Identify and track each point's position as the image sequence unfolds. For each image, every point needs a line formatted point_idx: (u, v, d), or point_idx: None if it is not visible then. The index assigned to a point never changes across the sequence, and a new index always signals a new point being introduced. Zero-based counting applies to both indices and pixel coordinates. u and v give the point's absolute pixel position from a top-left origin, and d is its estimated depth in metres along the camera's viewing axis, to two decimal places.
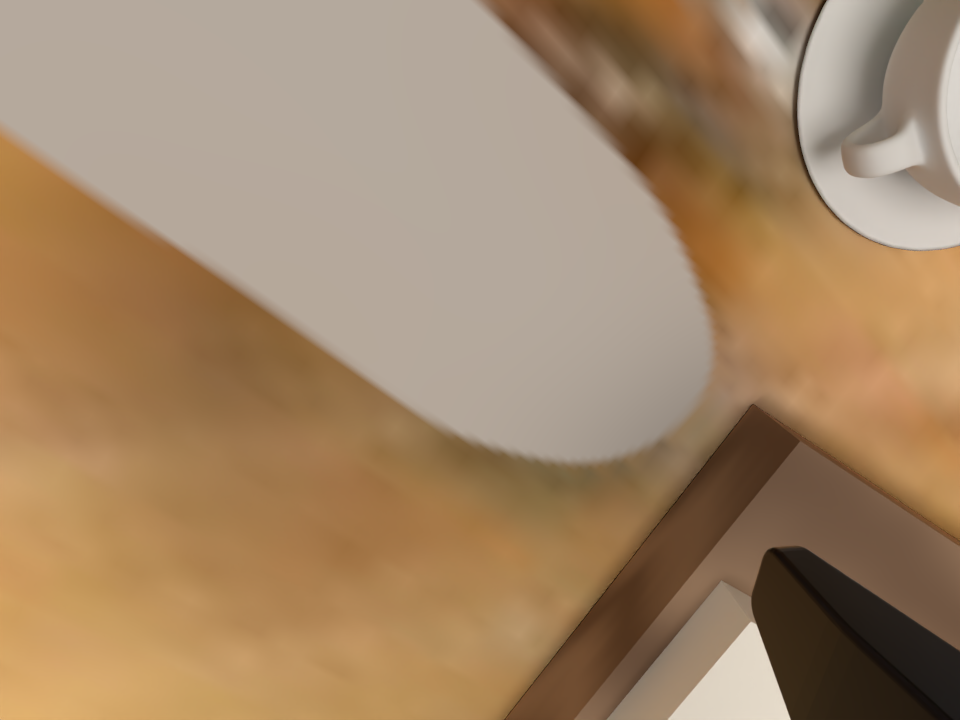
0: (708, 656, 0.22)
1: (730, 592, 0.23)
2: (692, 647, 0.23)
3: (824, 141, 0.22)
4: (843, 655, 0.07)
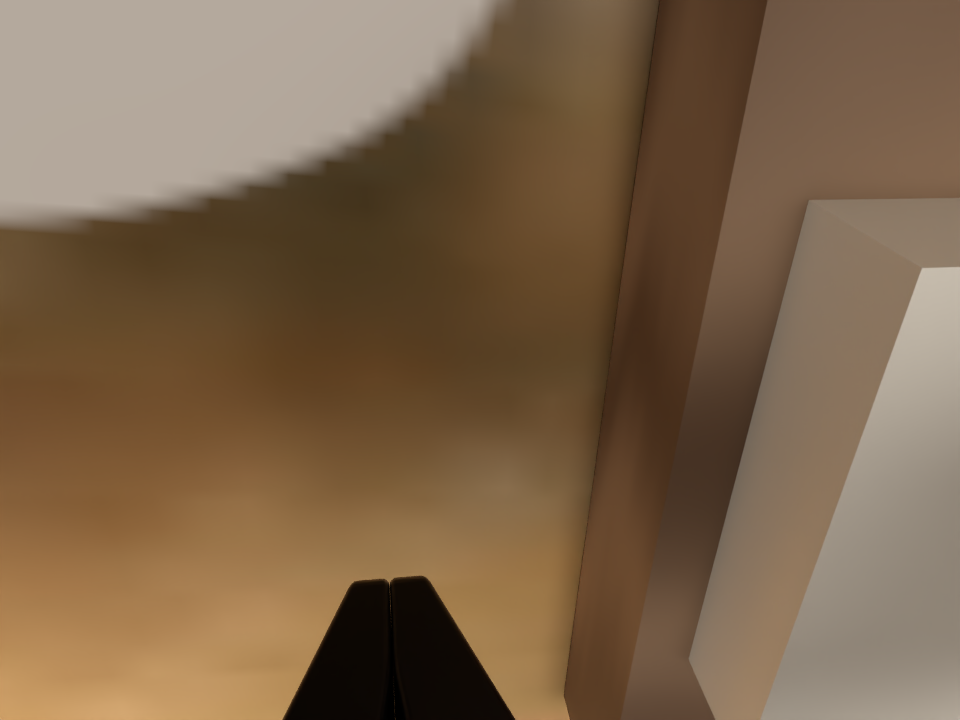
0: (845, 406, 0.08)
1: (840, 217, 0.08)
2: (803, 391, 0.09)
3: None
4: (397, 701, 0.07)
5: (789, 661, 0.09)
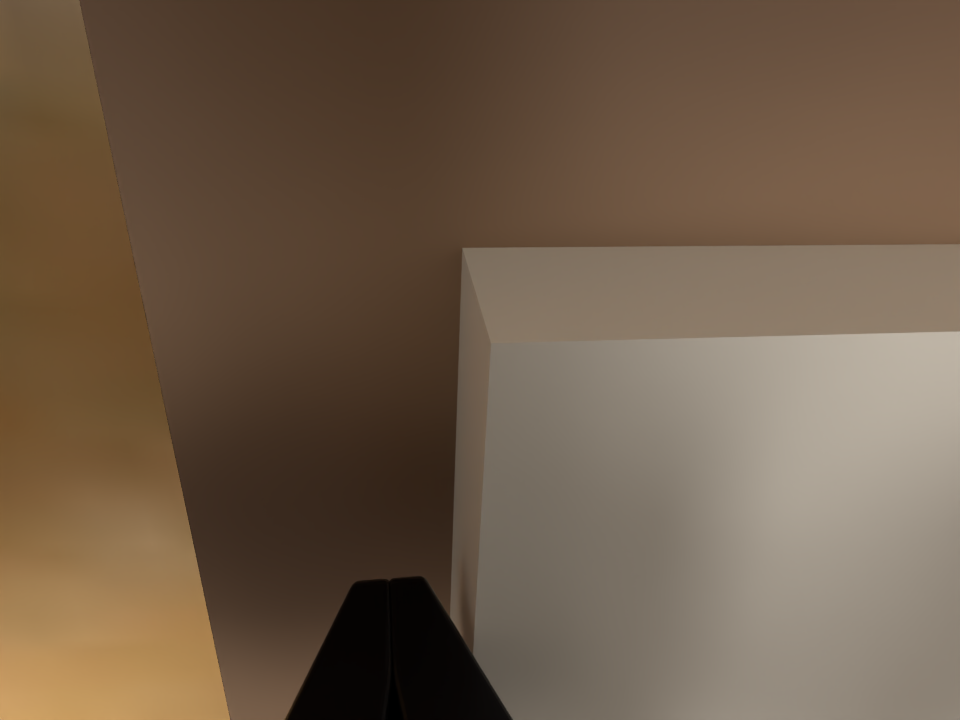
0: (475, 489, 0.07)
1: (474, 271, 0.07)
2: (465, 466, 0.08)
3: None
4: (395, 701, 0.07)
5: None
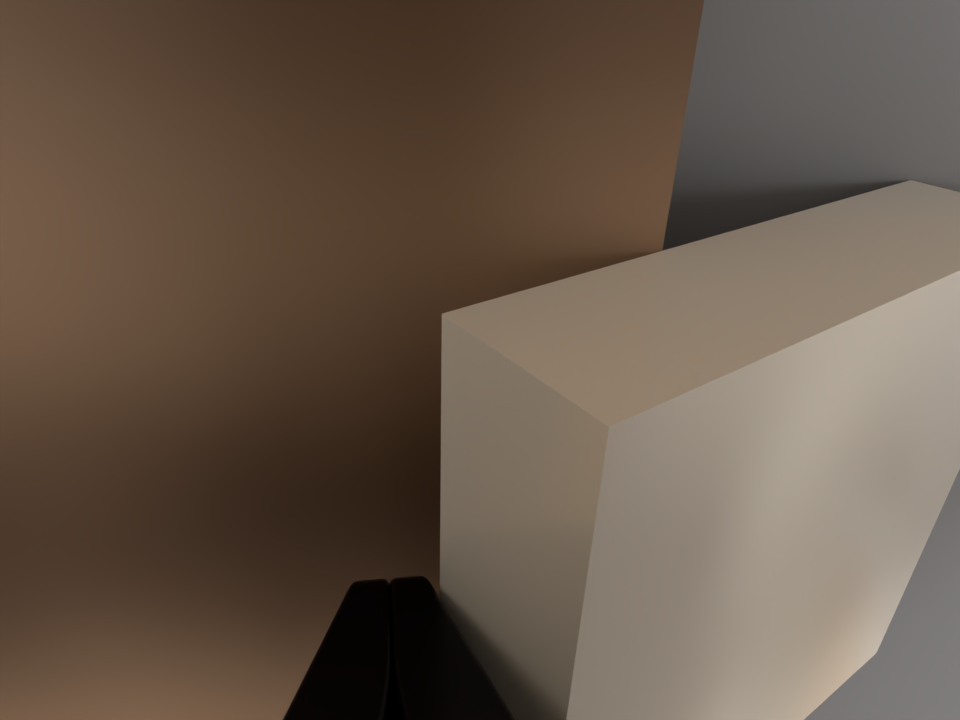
0: (549, 582, 0.06)
1: (487, 340, 0.06)
2: (494, 554, 0.07)
3: None
4: (397, 701, 0.07)
5: None
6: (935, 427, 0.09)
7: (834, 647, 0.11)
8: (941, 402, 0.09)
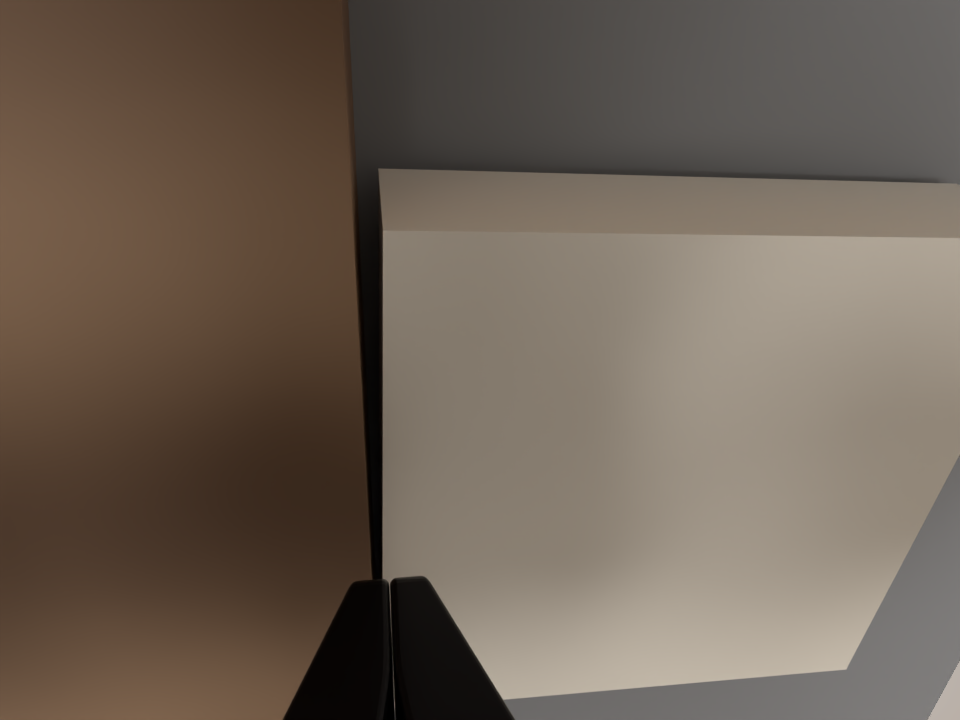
0: (382, 360, 0.09)
1: (383, 184, 0.09)
2: (380, 349, 0.09)
3: None
4: (397, 701, 0.07)
5: None
6: (863, 411, 0.10)
7: (754, 612, 0.11)
8: (863, 383, 0.09)
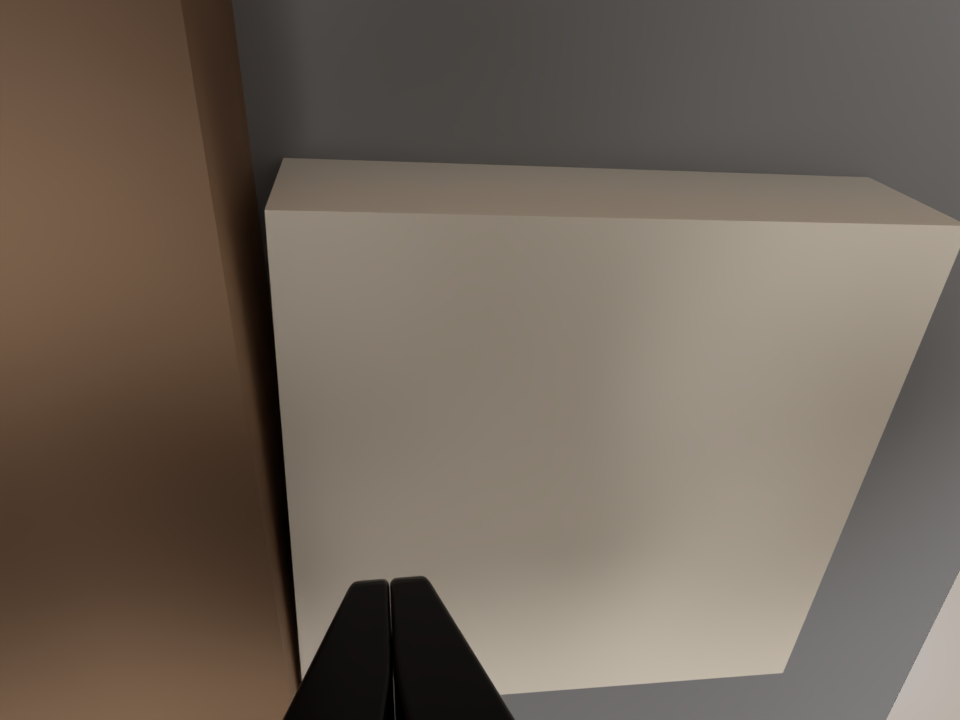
0: (279, 345, 0.09)
1: (282, 171, 0.09)
2: None
3: None
4: (397, 701, 0.07)
5: (304, 595, 0.10)
6: (772, 401, 0.10)
7: (680, 610, 0.11)
8: (770, 372, 0.09)
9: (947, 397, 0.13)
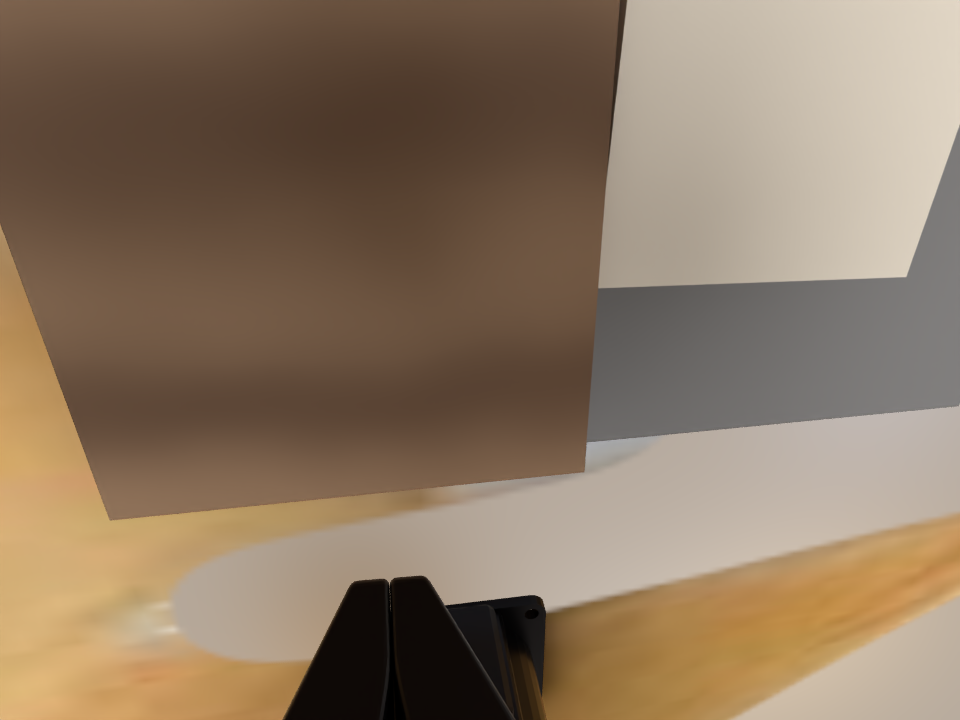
0: None
1: None
2: None
3: None
4: (397, 701, 0.07)
5: (612, 183, 0.16)
6: (913, 32, 0.15)
7: (843, 212, 0.17)
8: (913, 8, 0.15)
9: None
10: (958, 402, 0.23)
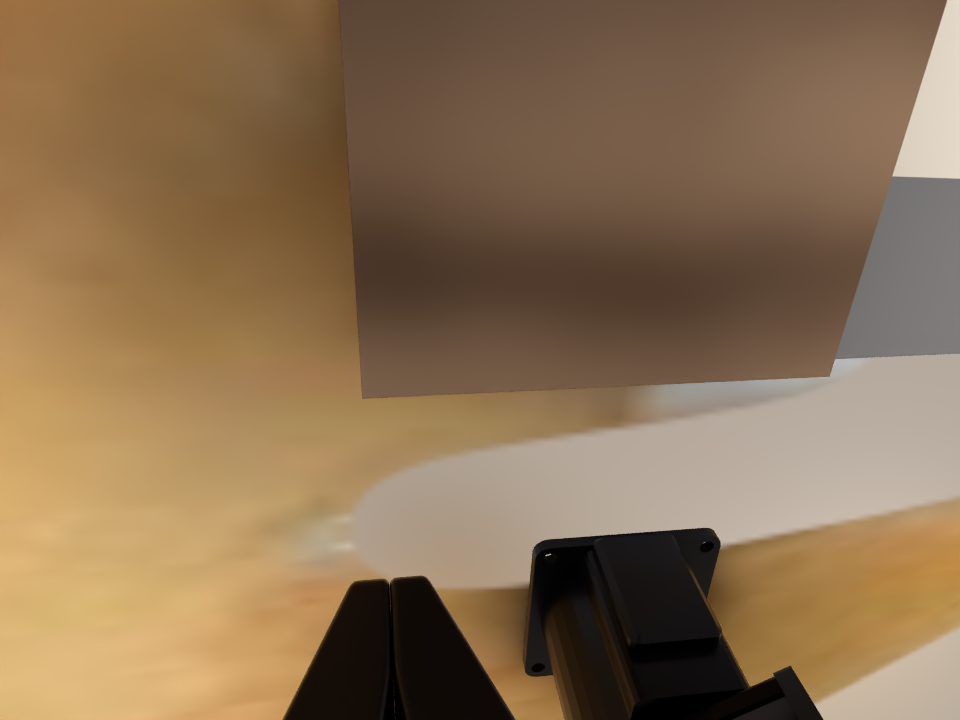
0: None
1: None
2: None
3: None
4: (397, 701, 0.07)
5: None
6: None
7: None
8: None
9: None
10: None
